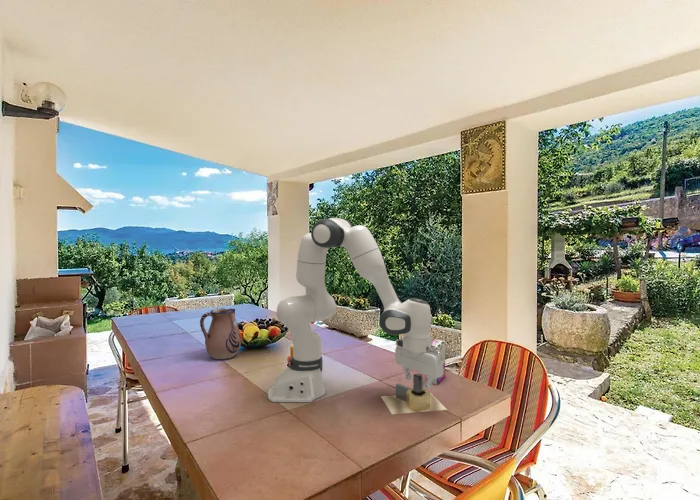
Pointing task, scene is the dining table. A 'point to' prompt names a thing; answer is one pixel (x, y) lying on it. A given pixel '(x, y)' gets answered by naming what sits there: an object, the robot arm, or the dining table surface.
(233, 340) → the ceramic pitcher
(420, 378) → the hinge pin
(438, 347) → the candy bar box
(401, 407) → the oak board
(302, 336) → the robot arm
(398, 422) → the dining table surface
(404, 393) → the hinge leaves
